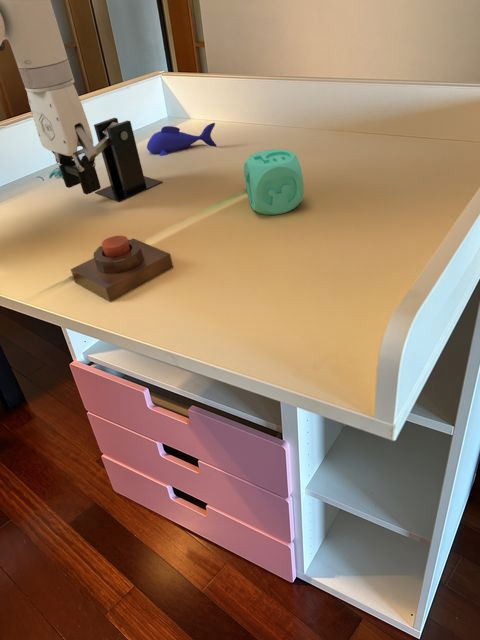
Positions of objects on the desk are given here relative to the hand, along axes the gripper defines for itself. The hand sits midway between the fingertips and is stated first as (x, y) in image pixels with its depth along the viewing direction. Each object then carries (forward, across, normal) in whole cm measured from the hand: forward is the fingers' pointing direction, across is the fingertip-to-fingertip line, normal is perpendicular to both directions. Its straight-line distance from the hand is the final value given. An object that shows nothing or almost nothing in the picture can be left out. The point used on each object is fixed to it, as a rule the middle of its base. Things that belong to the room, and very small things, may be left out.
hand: (83, 187), depth 98 cm
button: (+1, +25, -10) cm, 27 cm away
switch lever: (-4, 0, +5) cm, 6 cm away
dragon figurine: (+5, -19, +6) cm, 20 cm away
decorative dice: (+5, +28, +19) cm, 34 cm away
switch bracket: (+4, 0, +9) cm, 10 cm away
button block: (+4, +25, -10) cm, 27 cm away
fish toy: (+5, -8, +29) cm, 30 cm away
